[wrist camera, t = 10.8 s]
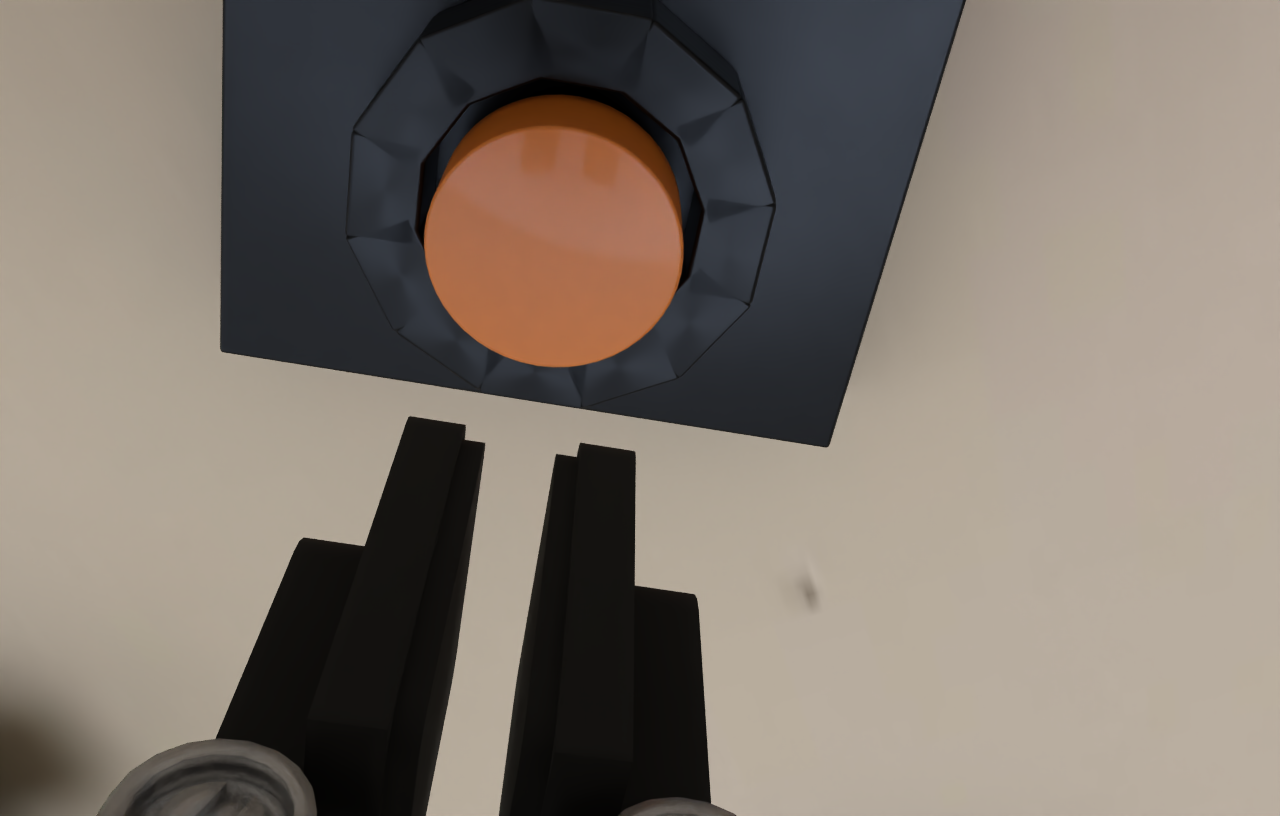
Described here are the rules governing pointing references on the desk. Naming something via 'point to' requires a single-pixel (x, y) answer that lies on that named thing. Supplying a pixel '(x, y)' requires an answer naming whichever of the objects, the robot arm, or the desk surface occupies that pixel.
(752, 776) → the desk surface
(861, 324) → the black button base
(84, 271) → the desk surface
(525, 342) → the bell button
